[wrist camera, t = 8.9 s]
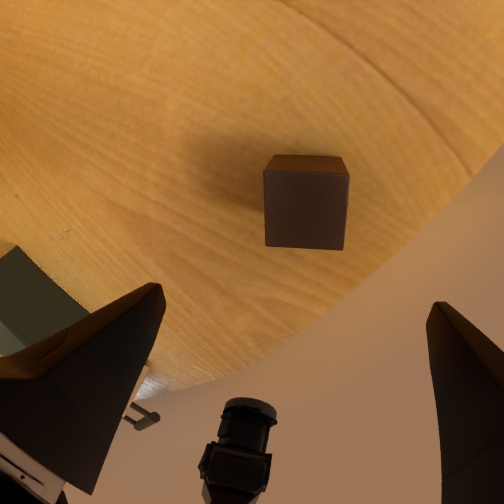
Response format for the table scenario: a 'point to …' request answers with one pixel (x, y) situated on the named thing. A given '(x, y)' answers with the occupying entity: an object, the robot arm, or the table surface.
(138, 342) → the robot arm
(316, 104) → the table surface
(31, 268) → the cabinet
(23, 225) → the table surface
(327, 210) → the block
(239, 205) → the table surface
